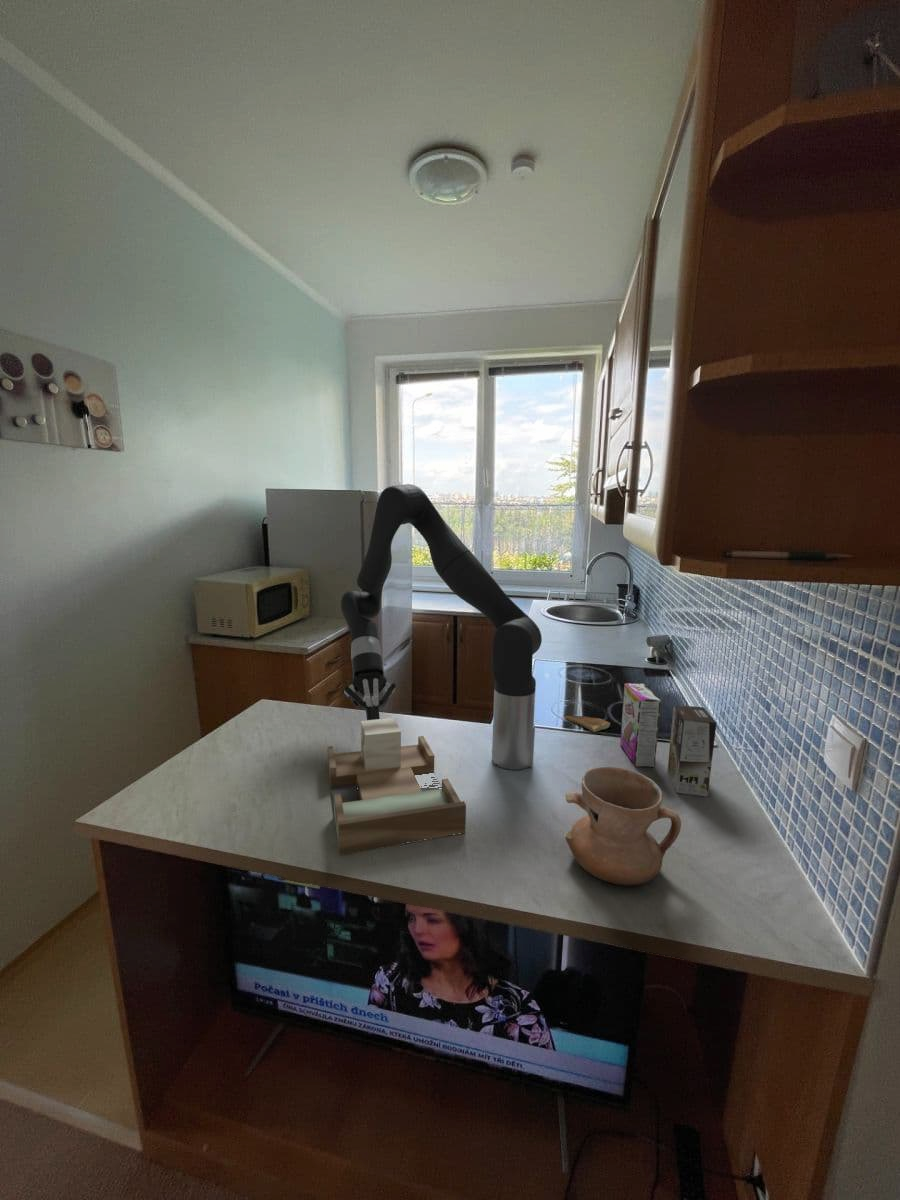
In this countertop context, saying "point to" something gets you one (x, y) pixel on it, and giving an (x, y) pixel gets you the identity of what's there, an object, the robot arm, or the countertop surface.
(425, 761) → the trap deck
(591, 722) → the shard
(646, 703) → the candy bar box
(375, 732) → the block
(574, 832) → the ceramic jug
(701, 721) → the coffee box
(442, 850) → the countertop surface
